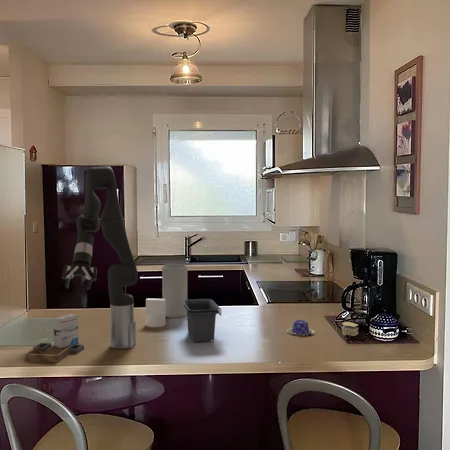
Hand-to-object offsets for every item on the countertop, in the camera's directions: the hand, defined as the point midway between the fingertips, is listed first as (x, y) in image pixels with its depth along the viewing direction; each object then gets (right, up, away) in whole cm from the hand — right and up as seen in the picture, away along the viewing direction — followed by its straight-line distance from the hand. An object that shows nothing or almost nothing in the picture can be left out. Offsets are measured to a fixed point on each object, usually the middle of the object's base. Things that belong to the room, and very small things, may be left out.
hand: (77, 288), depth 206 cm
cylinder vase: (+38, -19, +37) cm, 56 cm away
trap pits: (-2, -22, -17) cm, 28 cm away
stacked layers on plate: (+117, -22, +4) cm, 119 cm away
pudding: (+97, -21, +9) cm, 100 cm away
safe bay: (-3, -22, -24) cm, 33 cm away
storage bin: (+54, -21, +2) cm, 58 cm away
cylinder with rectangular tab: (+31, -20, +20) cm, 42 cm away
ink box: (-1, -22, -10) cm, 24 cm away
